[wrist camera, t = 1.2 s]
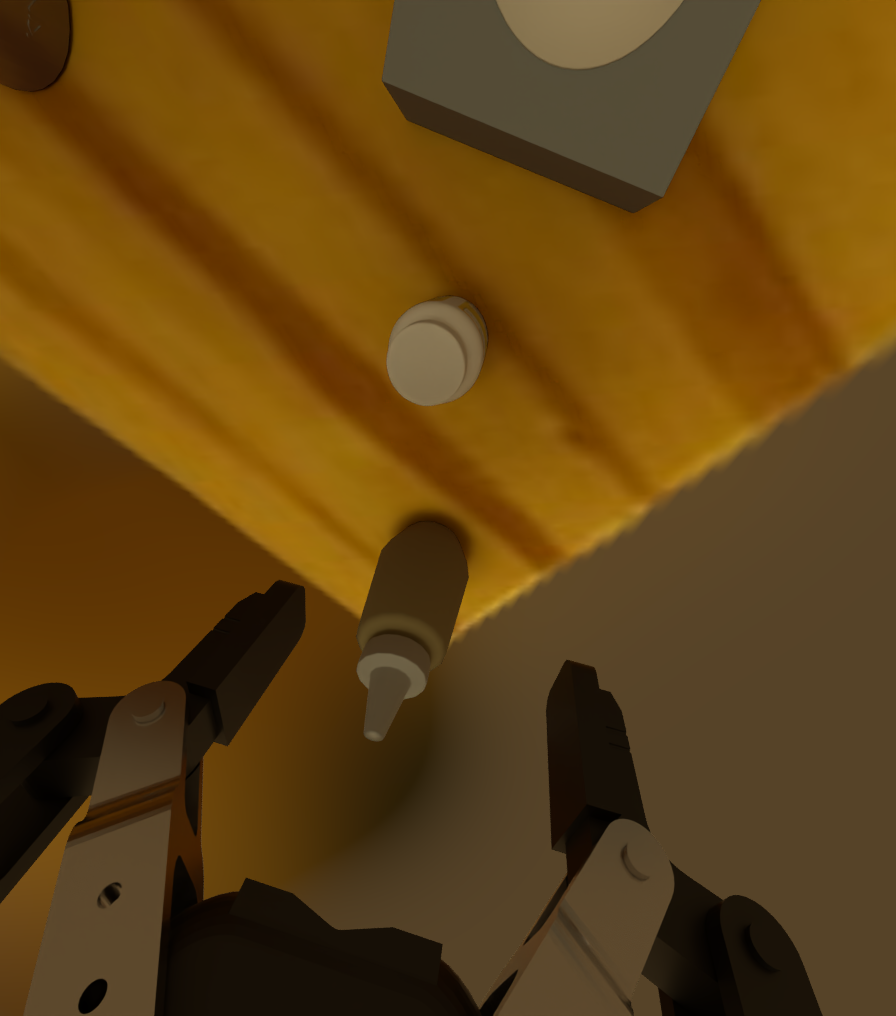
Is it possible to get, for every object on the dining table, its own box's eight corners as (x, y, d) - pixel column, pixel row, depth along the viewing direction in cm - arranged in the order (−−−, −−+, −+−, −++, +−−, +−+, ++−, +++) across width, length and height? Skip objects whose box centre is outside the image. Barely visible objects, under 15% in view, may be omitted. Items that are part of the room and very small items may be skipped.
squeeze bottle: (427, 589, 40) (375, 783, 24) (372, 537, 37) (276, 717, 22) (489, 554, 36) (474, 754, 21) (433, 494, 34) (370, 671, 18)
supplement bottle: (404, 362, 28) (360, 396, 20) (426, 282, 26) (386, 283, 17) (472, 389, 29) (457, 434, 20) (501, 313, 26) (497, 329, 18)
